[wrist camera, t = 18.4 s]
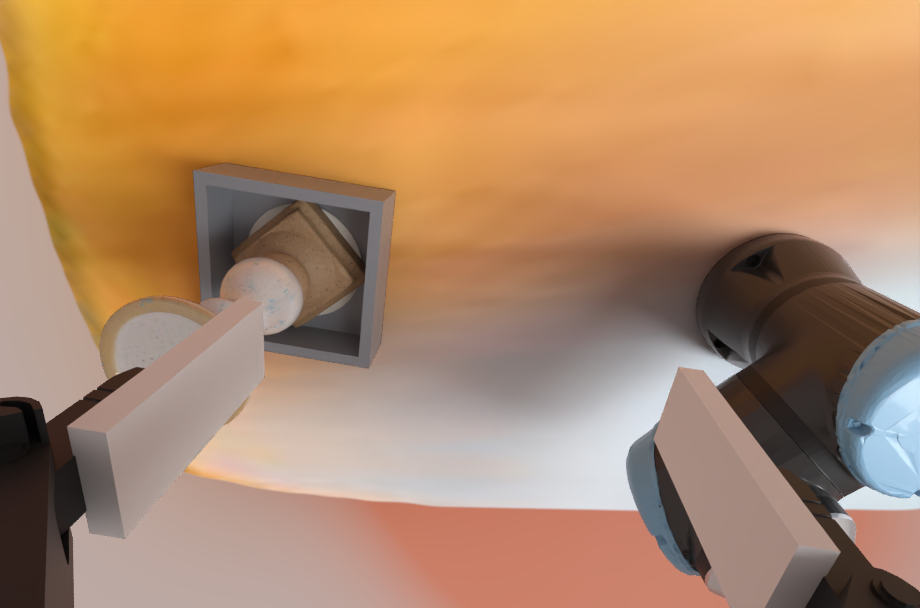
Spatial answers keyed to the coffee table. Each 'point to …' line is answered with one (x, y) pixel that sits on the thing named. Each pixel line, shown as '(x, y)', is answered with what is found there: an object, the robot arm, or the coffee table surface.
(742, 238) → the coffee table surface
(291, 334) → the walled bin
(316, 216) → the candle holder
